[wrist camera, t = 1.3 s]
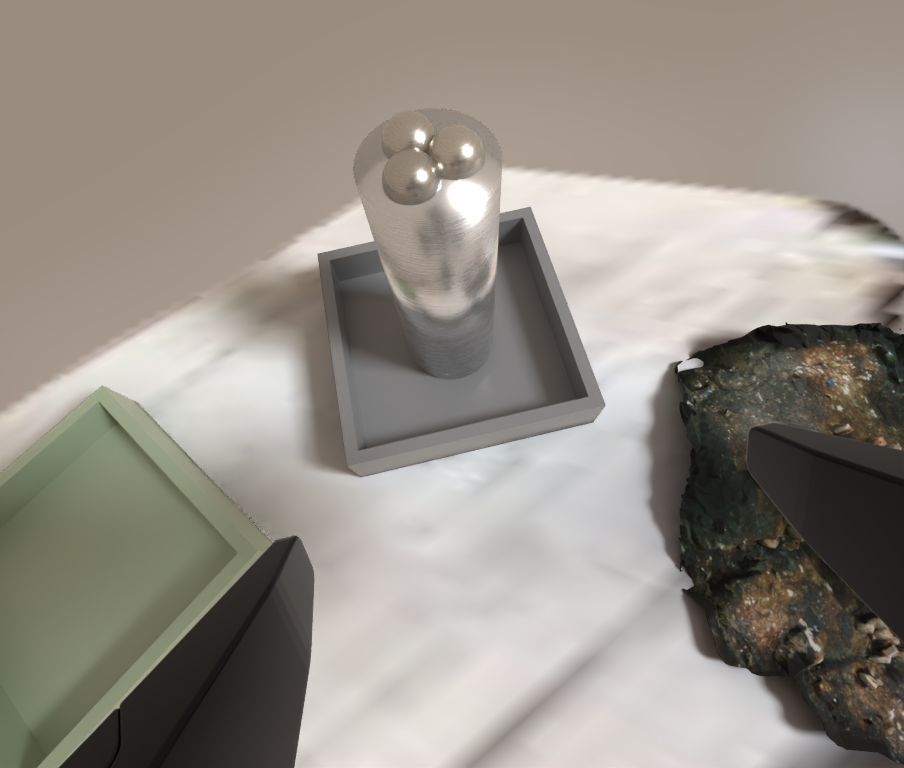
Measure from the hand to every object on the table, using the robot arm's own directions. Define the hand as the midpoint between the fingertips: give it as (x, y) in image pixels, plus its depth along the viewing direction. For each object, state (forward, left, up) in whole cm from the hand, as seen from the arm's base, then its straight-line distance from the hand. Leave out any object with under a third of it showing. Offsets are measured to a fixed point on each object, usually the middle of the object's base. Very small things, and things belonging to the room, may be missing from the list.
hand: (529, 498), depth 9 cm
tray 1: (0, +19, -14) cm, 24 cm away
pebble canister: (+11, +2, -13) cm, 17 cm away
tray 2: (+11, +2, -14) cm, 17 cm away
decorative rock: (0, -15, -15) cm, 21 cm away
